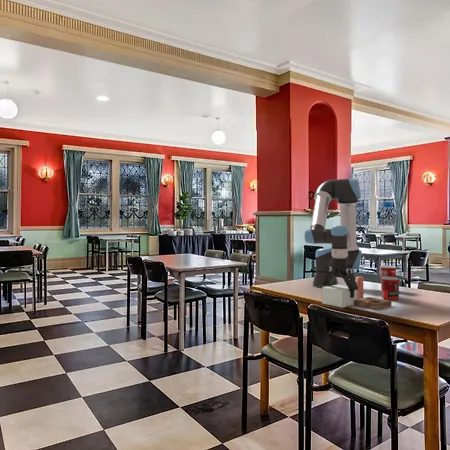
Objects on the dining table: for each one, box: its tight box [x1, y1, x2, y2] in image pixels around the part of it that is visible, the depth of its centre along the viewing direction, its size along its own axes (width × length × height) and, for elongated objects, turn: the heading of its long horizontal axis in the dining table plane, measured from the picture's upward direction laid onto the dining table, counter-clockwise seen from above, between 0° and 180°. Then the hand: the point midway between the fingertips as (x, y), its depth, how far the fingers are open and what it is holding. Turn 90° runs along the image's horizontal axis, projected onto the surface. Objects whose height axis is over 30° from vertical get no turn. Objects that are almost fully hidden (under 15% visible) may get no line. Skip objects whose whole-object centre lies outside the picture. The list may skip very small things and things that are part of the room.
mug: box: [379, 265, 397, 291], centre depth 224 cm, size 13×9×14 cm
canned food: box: [382, 276, 400, 302], centre depth 202 cm, size 8×8×11 cm
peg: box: [355, 276, 364, 299], centre depth 198 cm, size 4×4×12 cm
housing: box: [321, 284, 357, 309], centre depth 192 cm, size 12×12×8 cm
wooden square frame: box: [353, 296, 393, 311], centre depth 188 cm, size 12×12×2 cm
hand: (339, 302), depth 192 cm, fingers closed on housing, 12 cm apart
